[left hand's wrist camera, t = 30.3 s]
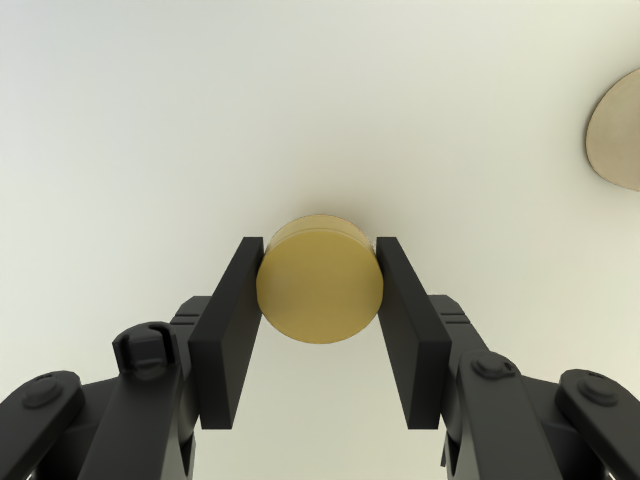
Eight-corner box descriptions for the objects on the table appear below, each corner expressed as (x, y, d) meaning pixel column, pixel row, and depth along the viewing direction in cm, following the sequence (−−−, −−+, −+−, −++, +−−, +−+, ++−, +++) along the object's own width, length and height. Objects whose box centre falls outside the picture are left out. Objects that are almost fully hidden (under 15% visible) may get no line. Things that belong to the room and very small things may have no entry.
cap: (396, 283, 15) (406, 308, 13) (303, 332, 16) (301, 362, 14) (339, 191, 13) (341, 205, 12) (240, 251, 14) (229, 273, 12)
